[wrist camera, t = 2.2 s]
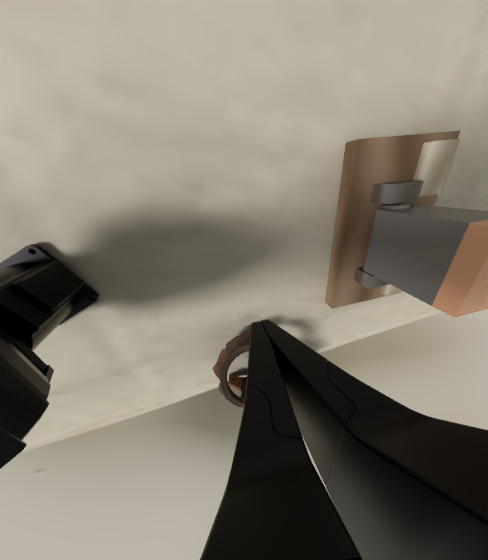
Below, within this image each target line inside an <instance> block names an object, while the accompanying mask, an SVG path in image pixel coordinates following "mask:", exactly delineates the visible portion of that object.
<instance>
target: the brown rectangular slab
mask: <svg viewBox="0 0 488 560" xmlns="http://www.w3.org/2000/svg"><path fill="white" fill-rule="evenodd" d="M459 133H460V131H451V132H440V133H428V134H417V135H405V136H393V137H382V138H370V139H358V140H354V141H351V142H347V143H346V147H345V154H344V162H343V170H342V177H341V185H340V193H339V201H338V208H337V216H336V224H335V231H334V239H333V247H332V254H331V262H330V270H329V278H328V285H327V293H326V301H325V302H326V303H327V304H328V305H329V306H330V307H331V308H336V307H341V306H345V305H349V304H354V303H358V302H362V301H366V300H371V299H375V298H379V297H384V296H389V295H393V294H397V293H402V292H404V291H402V290H400V289H398V288H396V287H394V286H392V285H391V284H389V283H387V282H385V281H383V280H381V279H379V278H377V277H375V276H373V275H371V274H369V273H367V272H365V271H364V270H363V269H364V265H365V260H366V256H367V252H368V247H369V243H370V238H371V234H372V229H373V225H374V220H375V216H376V211H377V210H378V209H381V205H382V204H395V203H407V204H410V205H411V204H414V205H425V206H434V204H435V201H436V198H437V195H438V194H440V192H441V190H442V187H443V184H444V181H445V178H446V176H447V173H448V170H449V167H450V165H451V162H452V159H453V156H454V153H455V151H456V148H457V145H458V142H459V140H460V139H458V136H459Z"/></svg>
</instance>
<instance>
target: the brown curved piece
mask: <svg viewBox="0 0 488 560" xmlns="http://www.w3.org/2000/svg"><path fill="white" fill-rule="evenodd" d="M250 335H251V330H250V331H247V332H245V333H243V334H241V335H239V336H237V337H235V338H234V339H232V340H231V341H230V342H228V343H227V344H226V349H223V350H222V351H221V353H220V355H219V358H218V361H217V363H216V364H215V366H214V367H213V371H214V373H215V374H216V376H217V377H218V378H219V379H220V382H221V383H220V384H219V391H220V392H221V393H222V394H223V395H224V396H225V398H226V399H227V400H229V401H230V402H231V403H233V404H234V405H237V406H238V407H243V408H244V403H245V395H246V384H247V377H238V376H235V375H232V374H229V381H228V382H227V372H228V369H229V366H230V364H231V363H232V361H233V360H234V359H235V358H236V357H238V356H239V355H240V354H242V353H244V352H247V351H249V347H250ZM228 384H229V385H230V386H232V387H235V388H236V389H238V390H241V392H242V393H241V397H239V396H237V395H235V394H234V393H233V392H232V390H231V389H230V387H229V385H228Z"/></svg>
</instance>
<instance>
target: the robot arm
mask: <svg viewBox="0 0 488 560" xmlns="http://www.w3.org/2000/svg"><path fill="white" fill-rule="evenodd" d="M32 249H34V250H35V251H36V253H35V252H33V251H32ZM90 296H93V297H94V298H91V297H90ZM98 298H99V295H98V294H97V293H96V292H95V291H94V290H93V289H91V288H90V287H89V286H88V285H87V284H85V283H84V282H83V281H82V280H81V279H80V278H78V277H77V276H76V275H75V274H74V273H72V272H71V271H70V270H69V269H68V268H66V267H65V266H64V265H63V264H61V263H60V262H59V261H57V260H56V259H55V258H54V257H52V256H51V255H50V254H49V253H48V252H46V251H45V250H44V249H43V248H41V247H40V246H38V245H36V244H32V245H29V246H26V247H25V248H23V249H21V250H20V251H18V252H17V253H15V254H14V255H12V256H11V257H9V258H8V259H6V260H5V261H3V262H1V263H0V469H1V468H2V467H3V466H4V465H5V464H7V463H8V462H9V461H10V460H11V459H13V458H14V457H15V456H16V455H18V454H19V453H20V452H21V451H22V450H23V449H24V448H25V447H26V443H24V442H23V441H22V440H23V439H24V437H25V436H26V435H27V434H28V433H29V432H30V430H31V429H32V428H33V427H34V425H35V424H36V423H37V422H38V421H39V420H40V418H41V417H42V415H43V413H44V412H45V410H46V409H47V407H48V405H49V402H48V401H47V400H46V399H47V397H48V394H49V390H50V380H51V377H52V374H53V371H54V370H53V369H52V368H51V367H50V366H49V365H46V364H45V363H44V362H43V361H42V360H41V359H40V358H39V357H38V356H37V355H36V354H35V353H34V352H33V350H34V349H35V348H36V347H37V346H38V345H39V344H40V343H41V342H42V341H43V340H44V339H45V338H46V337H47V336H48V335H49V334H50V333H51V332H52V331H53V330H54V329H55V328H56V327H57V326H58V325H59V324H60V323H62V322H63V321H65V320H67V319H68V318H70V317H72V316H73V315H75V314H76V313H78V312H80V311H81V310H83V309H84V308H86V307H88V306H89V305H91V304H92V303H94V302H96V301H97V299H98ZM301 434H302V435H301ZM302 436H303V438H304V440H305V442H306V444H307V447H308V448H309V451H310V453H311V455H312V457H313V460H314V462H315V464H316V466H317V468H318V470H319V473H320V475H321V477H322V479H323V481H324V483H325V485H326V488H327V490H328V492H329V494H330V497H331V498H330V497H329V494H328V493H327V491H326V489H325V487H324V485H323V483H322V481H321V479H320V477H319V475H318V474H317V472H316V470H315V468H314V466H313V464H312V462H311V459H310V457H309V455H308V452H307V449H306V447H305V444H304V441H303V438H302ZM331 499H332V500H331ZM332 501H333V502H332ZM333 503H334V504H333ZM334 505H335V506H334ZM335 507H336V508H335ZM200 560H488V430H484V429H480V428H475V427H471V426H466V425H462V424H458V423H453V422H449V421H445V420H440V419H436V418H432V417H429V416H426V415H423V414H420V413H418V412H416V411H413V410H411V409H409V408H407V407H405V406H404V405H401V404H400V403H398V402H396V401H394V400H393V399H391V398H389V397H388V396H386V395H384V394H382V393H380V392H379V391H377V390H375V389H374V388H372V387H370V386H368V385H366V384H365V383H363V382H361V381H359V380H358V379H356V378H355V377H353V376H351V375H350V374H348V373H347V372H345V371H344V370H342V369H341V368H339V367H337V366H336V365H334V364H332V363H331V362H330V361H328V362H327V359H325V358H324V357H323V356H321V355H320V354H318V353H317V352H315V351H314V350H312V349H311V348H310V347H308V346H307V345H305V344H304V343H302V342H301V341H299V340H298V339H296V338H295V337H293V336H292V335H291V334H289V333H288V332H286V331H285V330H283V329H282V328H280V327H279V326H277V325H276V324H274V323H273V322H272V321H270V320H268V319H266V320H262V321H260V322H259V321H257V322H253V323H252V324H251V335H250V347H249V360H248V372H247V384H246V395H245V403H244V410H243V416H242V421H241V426H240V430H239V435H238V439H237V444H236V449H235V453H234V458H233V463H232V468H231V471H230V475H229V479H228V483H227V486H226V490H225V493H224V496H223V499H222V501H221V504H220V507H219V509H218V512H217V515H216V518H215V520H214V523H213V526H212V528H211V531H210V534H209V537H208V540H207V542H206V545H205V548H204V550H203V553H202V556H201V559H200Z"/></svg>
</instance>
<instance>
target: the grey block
mask: <svg viewBox="0 0 488 560" xmlns="http://www.w3.org/2000/svg"><path fill="white" fill-rule="evenodd" d="M363 270H364V271H365V272H367V273H369V274H371V275H373V276H375V277H377V278H379V279H381V280H383V281H385V282H387V283H389V284H391V285H392V286H394V287H396V288H398V289H400V290H402V291H404V292H406V293H408V294H410V295H412V296H414V297H416V298H418V299H420V300H421V301H423V302H425V303H427V304H429V305H431V306H433V307H435V308H437V309H439V310H441V311H443V312H445V313H447V314H449V315H450V316H453V317H454V318H455V317H458V316H462V315H466V314H469V313H473V312H477V311H481V310H484V309H488V211H478V210H467V209H456V208H446V207H435V206H425V205H414V204H411V205H410V204H407V203H395V204H382V205H381V209H378V210H377V211H376V216H375V220H374V225H373V229H372V234H371V238H370V243H369V247H368V252H367V256H366V260H365V265H364V269H363Z"/></svg>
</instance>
